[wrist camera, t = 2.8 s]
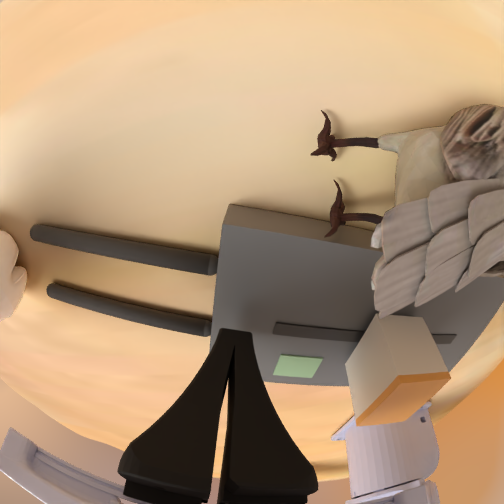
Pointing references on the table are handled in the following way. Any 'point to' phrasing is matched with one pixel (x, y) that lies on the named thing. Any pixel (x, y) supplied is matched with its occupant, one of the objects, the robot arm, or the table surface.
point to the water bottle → (10, 277)
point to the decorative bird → (435, 207)
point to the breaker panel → (323, 296)
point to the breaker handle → (394, 370)
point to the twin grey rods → (134, 253)
